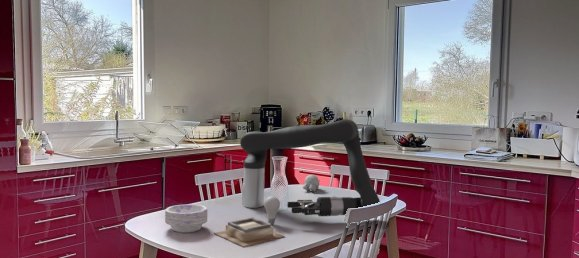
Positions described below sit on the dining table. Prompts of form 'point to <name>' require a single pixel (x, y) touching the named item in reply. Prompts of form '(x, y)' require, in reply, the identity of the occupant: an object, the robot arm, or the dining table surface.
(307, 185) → the round bodied animal figurine
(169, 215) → the paper bowls
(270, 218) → the lightbulb
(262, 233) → the square tan tray
